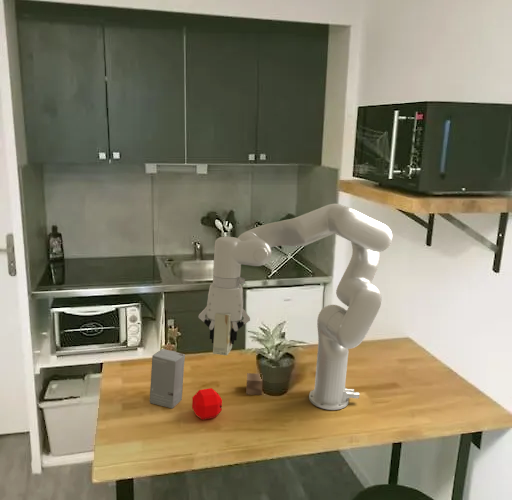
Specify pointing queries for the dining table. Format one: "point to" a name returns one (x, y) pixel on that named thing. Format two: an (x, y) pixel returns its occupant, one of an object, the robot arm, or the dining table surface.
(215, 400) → the ball
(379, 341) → the dining table surface
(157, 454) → the dining table surface
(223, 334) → the skincare box
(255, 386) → the walnut block
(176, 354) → the skincare box
